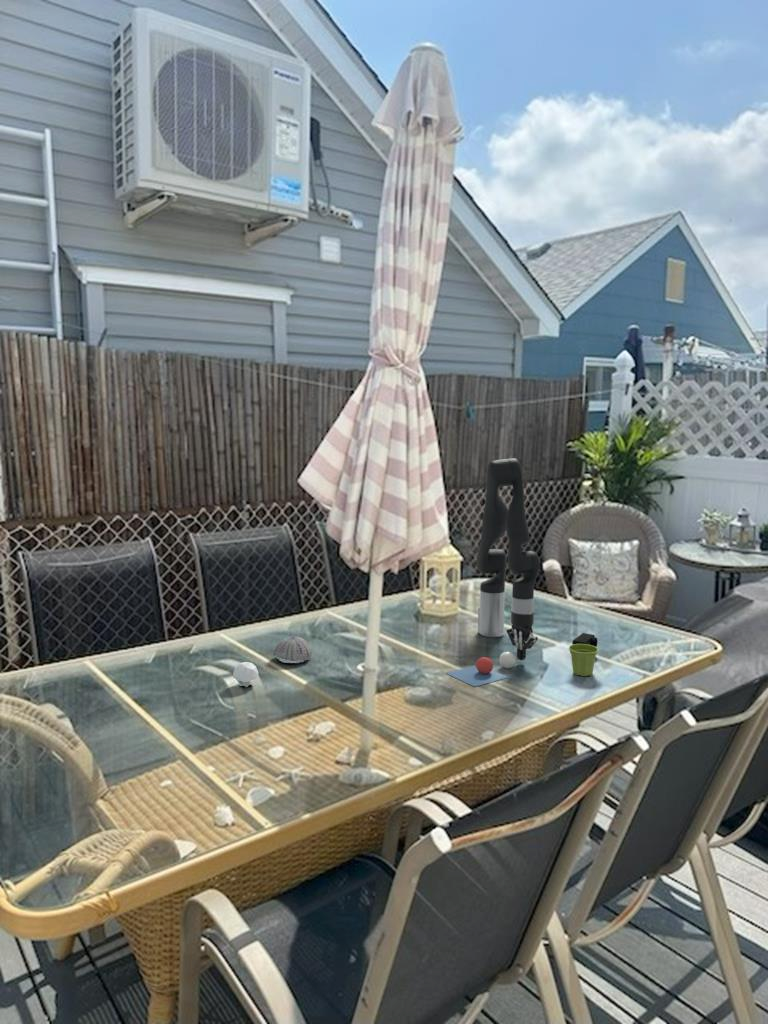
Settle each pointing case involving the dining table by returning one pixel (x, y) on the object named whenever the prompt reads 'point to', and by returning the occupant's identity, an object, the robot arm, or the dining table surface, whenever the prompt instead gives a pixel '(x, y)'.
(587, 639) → the digital camera
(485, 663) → the red ball
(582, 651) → the plant pot
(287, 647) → the sea urchin shell
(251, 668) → the geometric ball
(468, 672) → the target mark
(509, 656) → the cue ball
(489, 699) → the dining table surface
